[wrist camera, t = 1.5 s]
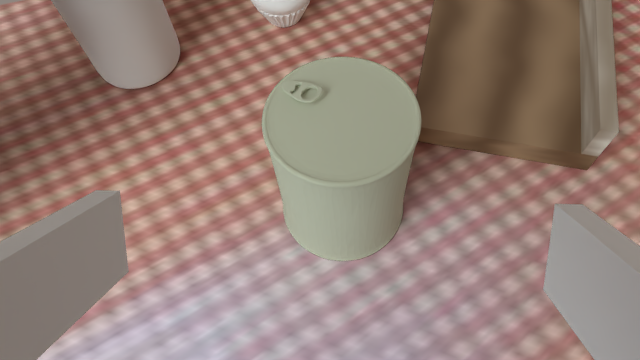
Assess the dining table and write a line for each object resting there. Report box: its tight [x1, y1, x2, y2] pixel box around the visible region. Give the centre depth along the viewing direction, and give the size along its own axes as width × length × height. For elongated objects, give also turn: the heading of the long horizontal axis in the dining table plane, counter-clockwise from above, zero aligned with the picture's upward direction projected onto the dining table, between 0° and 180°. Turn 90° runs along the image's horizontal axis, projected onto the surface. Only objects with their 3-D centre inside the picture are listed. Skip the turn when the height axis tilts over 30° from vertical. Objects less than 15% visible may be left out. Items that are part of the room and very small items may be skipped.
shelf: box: [416, 0, 619, 170], centre depth 42 cm, size 14×20×5 cm
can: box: [262, 57, 421, 261], centre depth 33 cm, size 9×9×12 cm
